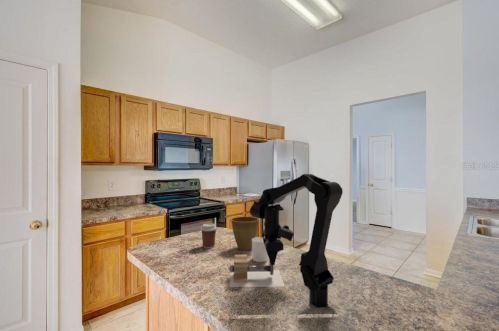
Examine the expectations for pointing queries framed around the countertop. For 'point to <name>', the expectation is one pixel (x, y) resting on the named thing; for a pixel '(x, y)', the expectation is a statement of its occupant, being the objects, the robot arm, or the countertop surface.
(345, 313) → the countertop surface
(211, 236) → the coffee cup
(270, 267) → the hook rod
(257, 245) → the white cup
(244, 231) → the plant pot
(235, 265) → the block
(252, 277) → the mounting board
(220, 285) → the countertop surface
